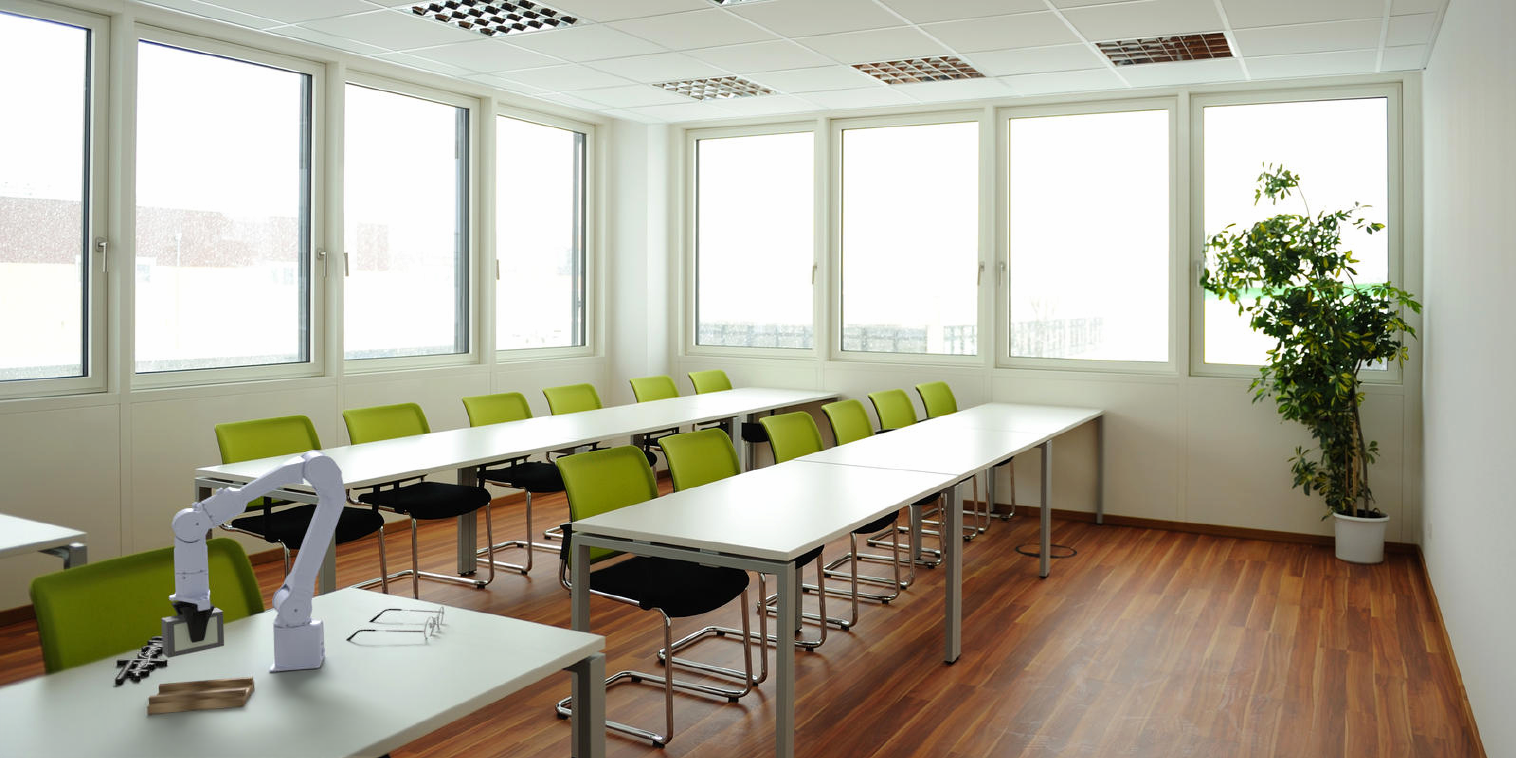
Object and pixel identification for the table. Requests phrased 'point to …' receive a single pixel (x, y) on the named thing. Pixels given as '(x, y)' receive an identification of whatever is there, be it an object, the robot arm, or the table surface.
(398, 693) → the table surface
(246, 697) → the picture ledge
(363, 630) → the eyeglasses
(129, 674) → the nameplate
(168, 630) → the grey block
